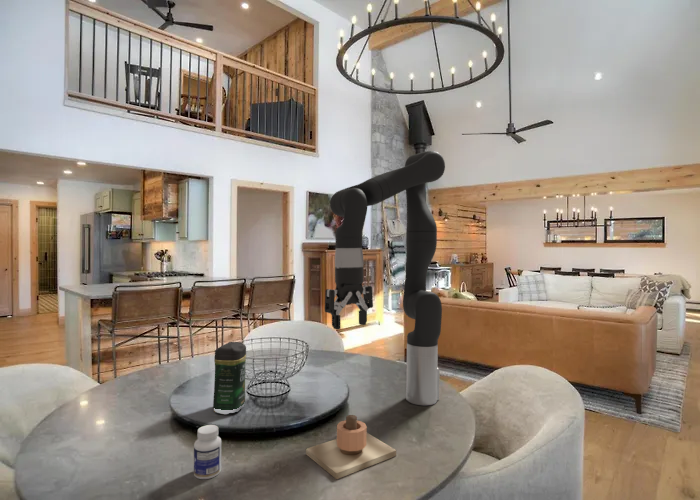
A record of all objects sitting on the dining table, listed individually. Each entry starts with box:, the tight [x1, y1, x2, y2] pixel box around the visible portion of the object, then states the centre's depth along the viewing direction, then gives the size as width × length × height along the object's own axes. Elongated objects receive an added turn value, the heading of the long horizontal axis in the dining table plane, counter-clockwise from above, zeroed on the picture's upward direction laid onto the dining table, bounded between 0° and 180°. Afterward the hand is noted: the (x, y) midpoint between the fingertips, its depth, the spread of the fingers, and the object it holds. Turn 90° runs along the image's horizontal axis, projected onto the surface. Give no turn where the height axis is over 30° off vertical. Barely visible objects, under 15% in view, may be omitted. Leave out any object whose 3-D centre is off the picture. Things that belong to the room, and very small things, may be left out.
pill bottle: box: [193, 424, 223, 480], centre depth 82 cm, size 5×5×9 cm
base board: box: [305, 432, 397, 480], centre depth 89 cm, size 16×12×1 cm
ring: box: [336, 419, 368, 451], centre depth 89 cm, size 6×6×4 cm
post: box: [340, 414, 362, 455], centre depth 89 cm, size 5×5×7 cm
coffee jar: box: [212, 341, 247, 410], centre depth 114 cm, size 10×8×19 cm
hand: (349, 326), depth 106 cm, fingers open, 8 cm apart
